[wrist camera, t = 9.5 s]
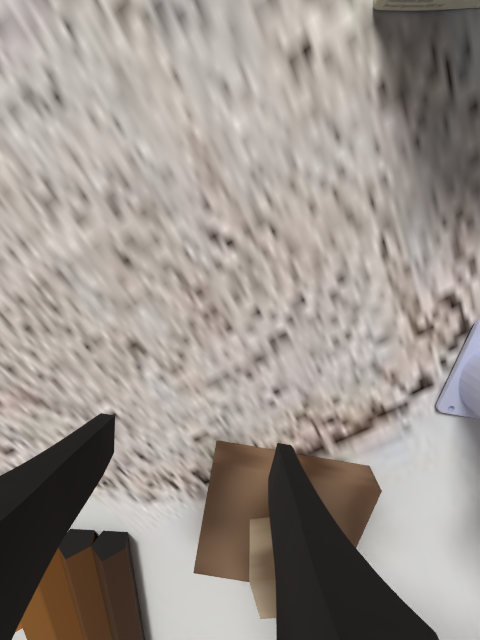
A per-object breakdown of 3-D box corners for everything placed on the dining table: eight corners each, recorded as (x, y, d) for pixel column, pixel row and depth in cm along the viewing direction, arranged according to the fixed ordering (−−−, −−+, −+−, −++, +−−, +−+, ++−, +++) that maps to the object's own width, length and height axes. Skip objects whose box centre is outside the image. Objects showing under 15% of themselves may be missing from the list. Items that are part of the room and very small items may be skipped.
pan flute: (153, 657, 38) (134, 526, 30) (144, 697, 35) (119, 562, 27) (-24, 644, 39) (-88, 514, 31) (-49, 682, 35) (-128, 548, 28)
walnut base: (369, 466, 25) (381, 491, 23) (327, 566, 30) (334, 595, 27) (216, 440, 25) (213, 463, 23) (198, 545, 29) (193, 573, 27)
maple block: (301, 514, 24) (311, 576, 20) (307, 549, 25) (318, 614, 21) (249, 519, 24) (249, 581, 20) (259, 553, 26) (260, 618, 22)
